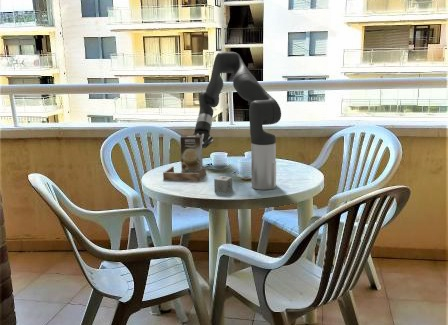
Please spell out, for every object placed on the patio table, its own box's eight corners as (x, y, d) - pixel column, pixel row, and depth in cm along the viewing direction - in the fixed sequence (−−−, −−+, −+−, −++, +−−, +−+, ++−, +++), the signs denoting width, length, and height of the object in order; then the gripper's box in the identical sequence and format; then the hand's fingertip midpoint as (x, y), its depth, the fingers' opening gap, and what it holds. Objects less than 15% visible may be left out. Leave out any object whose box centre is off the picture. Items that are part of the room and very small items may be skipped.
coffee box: (180, 172, 181) (179, 137, 177) (183, 169, 187) (182, 134, 183) (201, 172, 180) (199, 137, 176) (203, 169, 186) (202, 134, 182)
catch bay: (206, 174, 177) (205, 167, 176) (199, 180, 167) (198, 173, 166) (172, 173, 180) (171, 166, 180) (163, 179, 170) (163, 172, 169)
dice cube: (232, 189, 154) (232, 177, 153) (226, 193, 150) (226, 180, 148) (220, 188, 156) (220, 175, 155) (214, 192, 152) (214, 179, 151)
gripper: (189, 120, 198) (182, 149, 189) (215, 120, 195) (209, 150, 186) (192, 129, 204) (186, 158, 195) (218, 129, 201) (212, 159, 193)
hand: (197, 154), depth 191 cm, fingers closed
